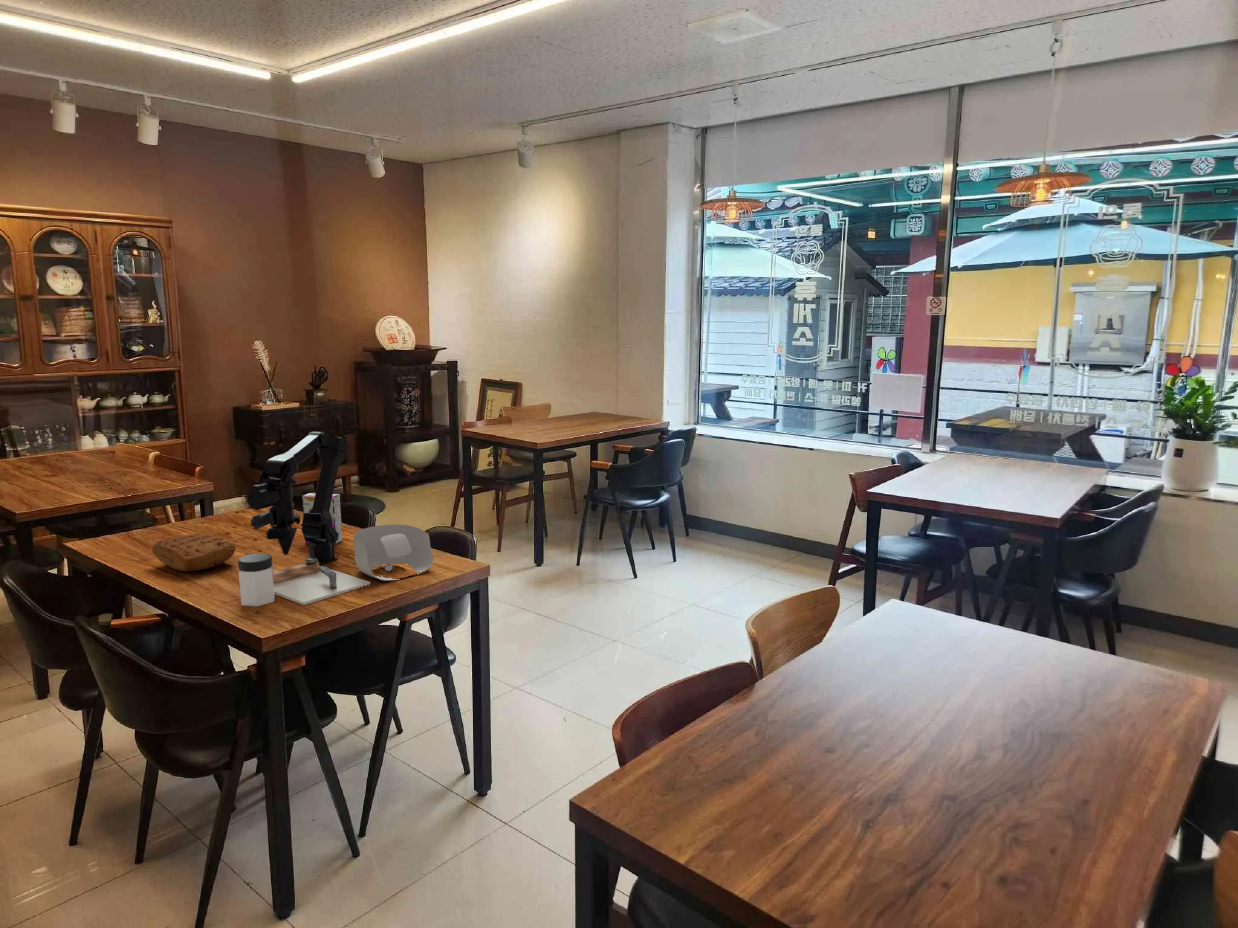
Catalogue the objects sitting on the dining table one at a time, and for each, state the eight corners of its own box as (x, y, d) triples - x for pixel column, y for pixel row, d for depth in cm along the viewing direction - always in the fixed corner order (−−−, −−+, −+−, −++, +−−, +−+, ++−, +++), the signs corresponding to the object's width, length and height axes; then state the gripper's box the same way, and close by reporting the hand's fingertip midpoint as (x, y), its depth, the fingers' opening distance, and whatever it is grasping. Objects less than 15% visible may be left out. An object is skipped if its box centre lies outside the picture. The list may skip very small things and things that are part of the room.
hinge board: (317, 567, 238) (317, 564, 238) (370, 584, 223) (370, 581, 223) (251, 585, 222) (251, 582, 222) (303, 605, 207) (303, 602, 206)
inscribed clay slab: (150, 565, 239) (147, 540, 238) (206, 552, 253) (204, 528, 252) (186, 579, 227) (183, 552, 225) (243, 564, 240) (241, 539, 239)
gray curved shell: (403, 557, 249) (402, 521, 247) (435, 571, 235) (434, 533, 233) (343, 570, 235) (340, 532, 233) (373, 586, 222) (371, 546, 220)
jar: (267, 593, 215) (264, 551, 213) (282, 600, 210) (279, 556, 208) (234, 602, 209) (230, 558, 207) (248, 609, 203) (245, 564, 201)
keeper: (315, 569, 233) (314, 556, 233) (342, 587, 218) (341, 573, 217) (304, 571, 231) (303, 558, 231) (330, 590, 216) (329, 575, 215)
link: (314, 568, 234) (313, 560, 233) (322, 570, 232) (321, 562, 231) (258, 583, 220) (258, 574, 220) (266, 585, 218) (265, 577, 218)
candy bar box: (304, 543, 263) (301, 495, 260) (311, 539, 268) (308, 492, 265) (336, 544, 262) (333, 496, 259) (343, 540, 267) (340, 493, 264)
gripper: (258, 496, 233) (262, 547, 236) (244, 511, 215) (249, 566, 218) (298, 494, 235) (302, 544, 238) (287, 509, 218) (292, 563, 220)
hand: (286, 554), depth 229 cm, fingers closed
